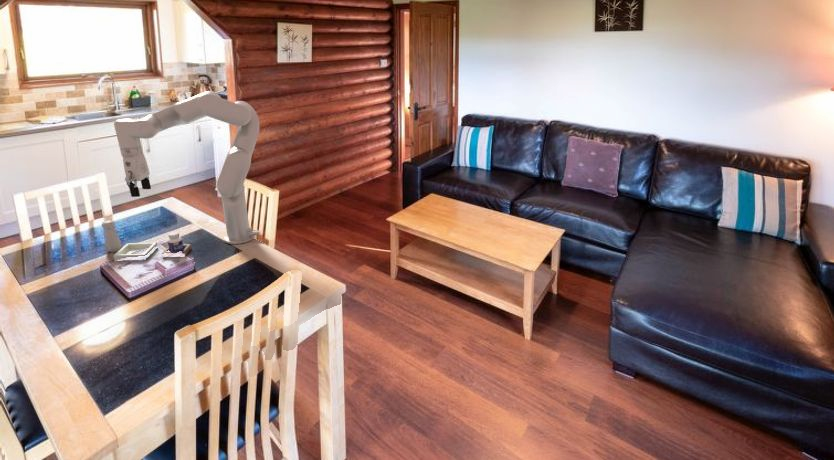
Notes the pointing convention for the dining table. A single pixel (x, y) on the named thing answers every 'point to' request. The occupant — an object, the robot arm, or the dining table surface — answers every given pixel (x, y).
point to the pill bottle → (175, 242)
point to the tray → (132, 248)
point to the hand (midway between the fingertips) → (141, 192)
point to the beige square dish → (186, 249)
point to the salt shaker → (111, 237)
